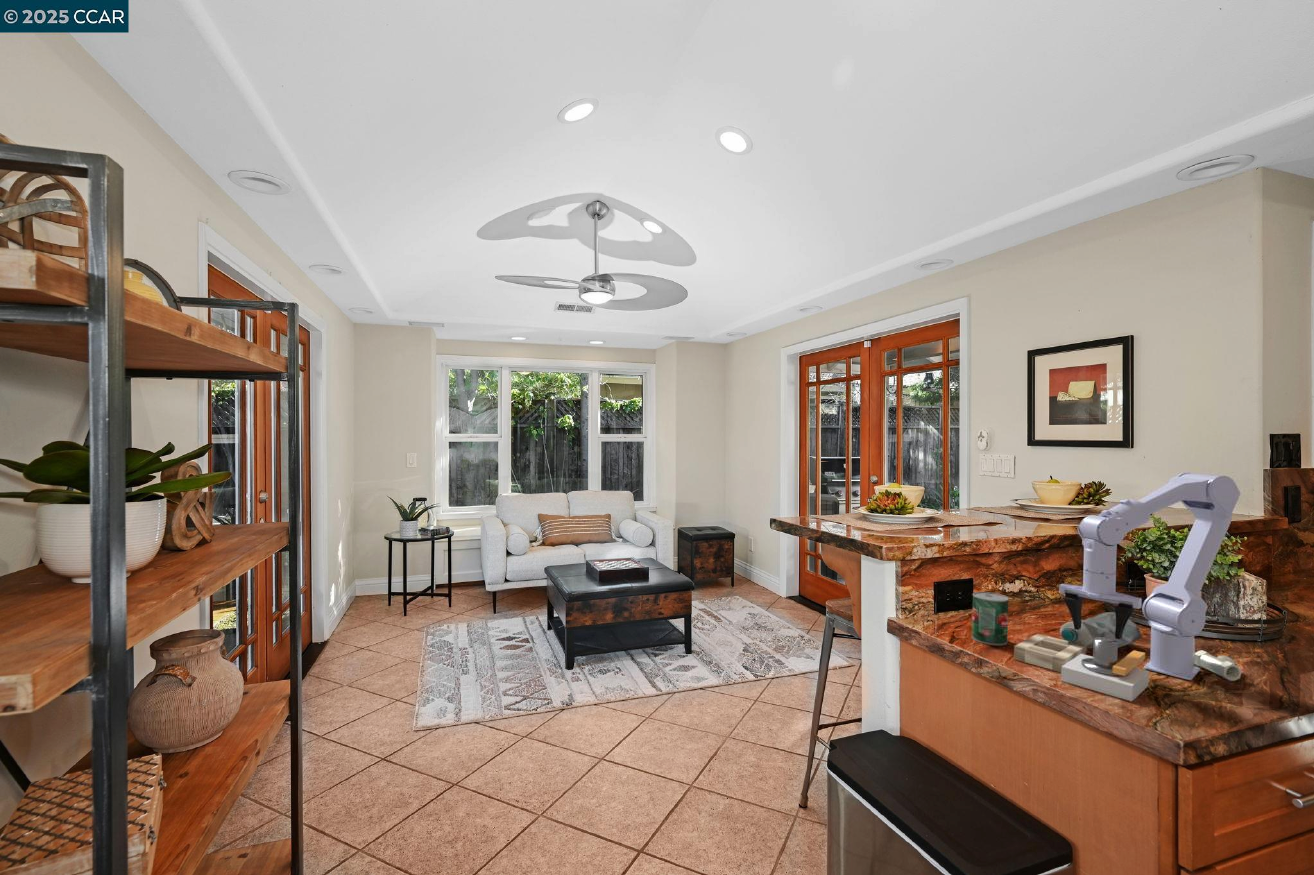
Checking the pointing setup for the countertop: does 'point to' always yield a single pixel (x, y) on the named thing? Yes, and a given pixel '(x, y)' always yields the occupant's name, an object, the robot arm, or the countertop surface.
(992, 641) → the canned tomato
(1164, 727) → the countertop surface
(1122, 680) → the socket block
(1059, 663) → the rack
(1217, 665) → the pipe fitting
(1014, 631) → the countertop surface
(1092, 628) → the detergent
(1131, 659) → the bar
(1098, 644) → the glossy grey dome knob
